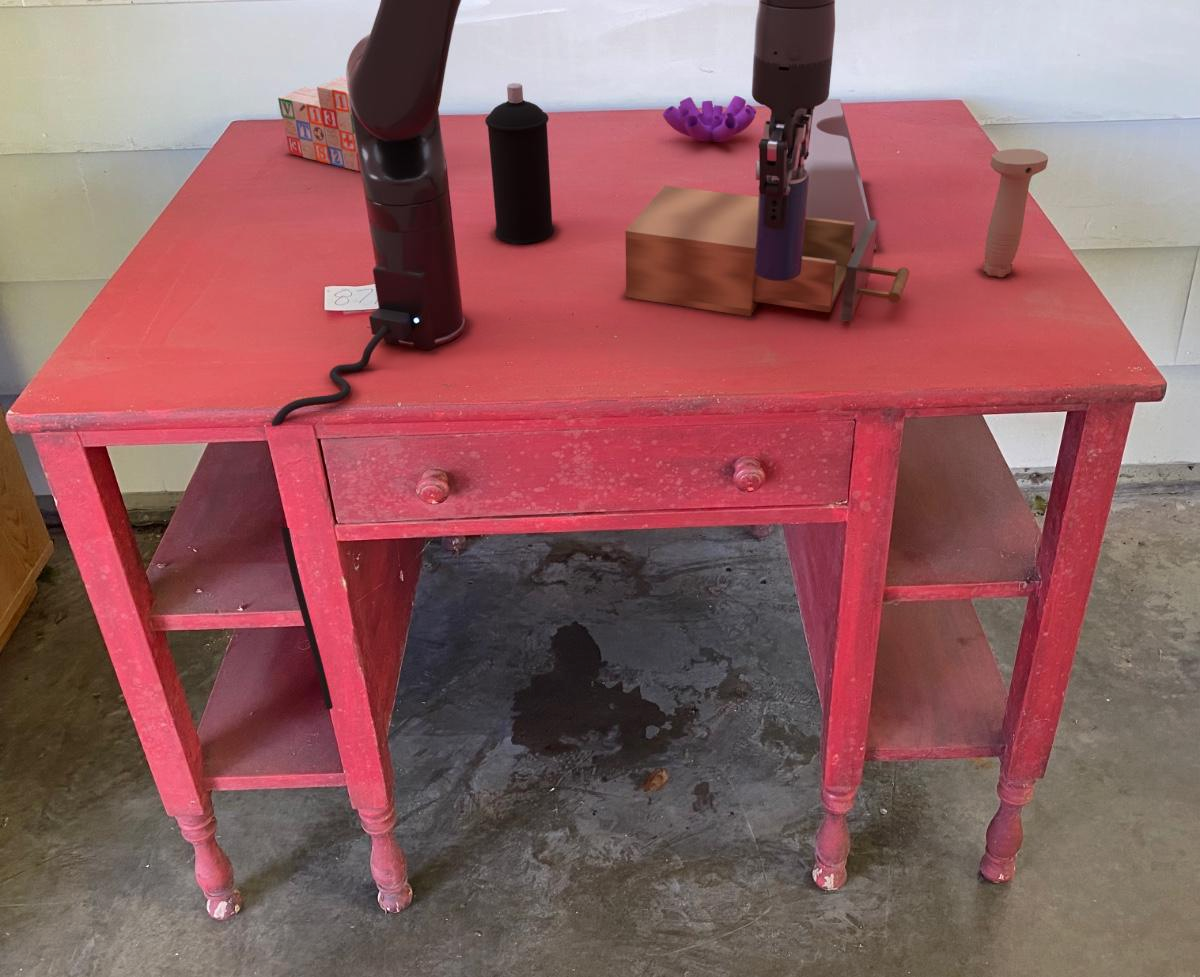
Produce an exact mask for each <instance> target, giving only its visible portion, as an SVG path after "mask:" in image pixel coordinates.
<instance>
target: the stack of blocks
mask: <svg viewBox="0 0 1200 977" xmlns="http://www.w3.org/2000/svg"><path fill="white" fill-rule="evenodd" d="M277 100H278V106H279V111H280V115H281V116H280V117H282V123H283V128H284V134H285V136H286V142H287V147H288V152H289V154H290V155H294V156H298V157H303V158H304V159H309V160H313V161H317V162H320V163H324V164H328V165H333V166H336V167H341V168H345V169H348V170H353V171H356V172H360V173H361V170H360V164H359V158H358V151H357V143H356V136H355V130H354V124H353V118H352V112H351V106H350V100H349V93H348V87H347V79H346V75H342V76H340V77H338V78H335V79H332V80H331V81H328V82H326V83H323V84H321V85H317V86H316V88H312V87H307V86H304V87H301V88H298V89H296V90H294V91H292V92H289V93H287V94H284V95H281V96H279V97H277Z"/></svg>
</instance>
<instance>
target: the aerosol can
mask: <svg viewBox="0 0 1200 977" xmlns="http://www.w3.org/2000/svg"><path fill="white" fill-rule="evenodd" d="M506 90H507V91H506V92H507V100H506V101H505V102H502V103H500V104H498V105H496V106H495V107H494V108H493V109H492V110H491V111H490V112H489V115H487V116H486V117H485V120H484V122H485V125H486V126H487V132H488V144H489V146H488V147H489V158H490V167H491V168H490V169H491V179H492V190H493V202H494V213H495V226H496V228H495V230H494V234H495V237H496V238H497V239H498V240H500V241H501V242H504V243H506V244H510V245H519V246H520V245H521V246H522V245H533V244H537V243H541V242H544V241H546V240H548V239H549V238H551V237H553V235H554V234H555V226H554V225H553V212H552V211H553V210H552V196H551V195H552V194H551V175H550V156H549V140H548V139H549V137H548V122H549V115H548V114H547V113H546V112H544V111H543V109H542V108H541V107H539V106H538V105H537V104H535V103H533V102H530V101H528V100H524V93H523V92H524V90H523V85H522V84H521V83H517V82H516V83H515V82H514V83H509V84H508V85H506Z"/></svg>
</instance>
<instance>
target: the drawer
mask: <svg viewBox="0 0 1200 977" xmlns="http://www.w3.org/2000/svg"><path fill="white" fill-rule="evenodd" d="M878 223H879V221H878V220H875V219H870V220H868V221H867V223H866V225H865V228H864V230H863V232H862V234H861V236H860V238H859V241H858V243H857V245H856V247H855V249H852V244H853V236H854V227H855V222H847V221H839V220H830V219H822V218H814V217H806V219H805V231H804V242H803V254H802V265H801V273H800V274H799V276H797V277H796V278H793V279H790V280H785V281H773V280H768V279H764V278H762V277H760V276H758V275H757V274H756V273H755V280H754V296H753V301H755V302H758V303H763V304H769V305H775V306H783V307H790V308H796V309H804V310H810V311H816V312H823V313H831V311H832V309H833V306H834V305H835V302H836V300H837V298H838V296H839V294H840V291H841V289H842V287H843V294H842V301H841V302H842V303H841V310H840V321H841V322H842V321H843V322H850V323H851V322H852V319H853V317H854V314H855V312H856V309H857V307H858V305H859V302H860V301H861V298H862V296H866V297H873V298H881V299H887V300H888V301H889V302H890V303H891V304H898V303H899V302H900V301H901V298H902V295H903V293H904V290H905V288H906V284H907V282H908V279H909V277H910V269H909V268H907V267H905V266H903V267H900V268H898V270H897V269H889V268H881V267H874V266H873V261H874V255H875V254H874V253H875V250H874V247H875V246H876V240H877V232H878ZM871 274H872V275H881V276H889V277H894V280H893V283H892V285H891V288H890V290H889V291H883V290H876V289H869V288H866V285H867V283H868V281H869V278H870V277H871Z"/></svg>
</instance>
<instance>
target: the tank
mask: <svg viewBox="0 0 1200 977" xmlns="http://www.w3.org/2000/svg"><path fill="white" fill-rule="evenodd" d="M808 152H809V155H808V157H807V159H806V160H804V164H805V167H804V169H805V170H806V171H807V174H808V176H809V185H808V196H807V208H806V217H814V218H822V219H830V220H839V221H847V222H855V227H854V236H853V244H852V250H854V249H855V247H856V245H857V243H858V241H859V238H860V236H861V234H862V232H863V230H864V228H865V225H866V223H867V221H868V220H871V218H870V213H869V207H868V204H867V199H866V194H865V189H864V184H863V180H862V175H861V172H860V168H859V165H858V161H857V156H856V152H855V150H854V146H853V142H852V138H851V134H850V131H849V127H848V123H847V120H846V116H845V112H844V108H843V104H842V101H841V99H840V98H827V100H826V101H825V102H824V103H822V104H821V105H818V106H816V107H815V108H814V110H813V117H812V125H811V133H810V141H809V149H808ZM755 163H756V164H755V181H759V160H756V162H755ZM876 250H877V246H876V245H875V247H874V251H876Z"/></svg>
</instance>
